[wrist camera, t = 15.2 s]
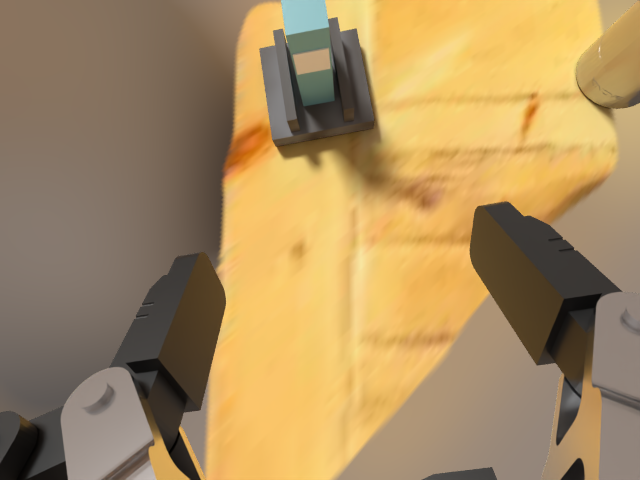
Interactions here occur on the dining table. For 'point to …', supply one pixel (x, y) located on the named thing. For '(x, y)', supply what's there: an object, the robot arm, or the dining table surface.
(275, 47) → the book stand
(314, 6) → the teal book
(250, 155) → the dining table surface
